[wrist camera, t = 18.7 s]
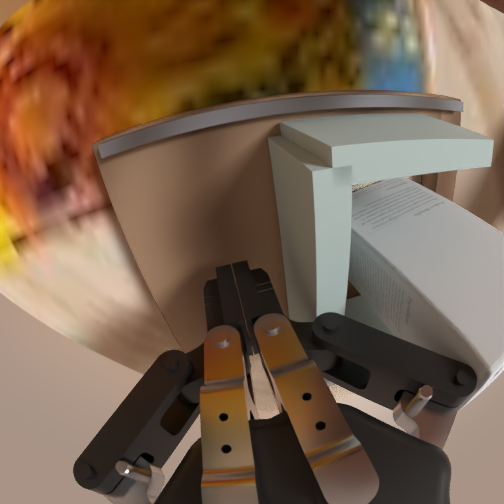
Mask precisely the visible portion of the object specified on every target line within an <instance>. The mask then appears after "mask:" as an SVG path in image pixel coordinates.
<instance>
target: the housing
mask: <svg viewBox="0 0 504 504" xmlns="http://www.w3.org/2000/svg"><path fill="white" fill-rule="evenodd" d="M279 123H280V130H281V135H279V136H273V137H268V144H269V151H270V158H271V165H272V172H273V179H274V187H275V195H276V202H277V210H278V218H279V227H280V235H281V244H282V253H283V262H284V271H285V280H286V290H287V300H288V310H289V319H290V320H293V321H296V322H313V321H314V320H315V318H316V317H317V316H319V315H321V314H323V313H327V312H335V313H339V314H341V315H344V316H346V317H348V318H351V319H353V320H356V321H358V322H360V323H363V324H365V325H368V326H370V327H373V328H375V329H378V330H380V331H383V332H385V333H388V334H390V335H393V336H394V334H393V333H392V332H391V331H390V329H389V328H388V327H387V326H386V325H385V323H384V322H383V321H382V320H381V318H380V317H379V316H378V315H377V313H376V312H375V311H374V310H373V309H372V307H371V306H370V305H369V304H368V302H367V301H366V300H365V299H364V298H363V296H362V295H360V296H356V297H353V298H350V299H347V300H346V295H347V285H348V273H349V260H350V243H351V220H352V185H356V184H362V183H368V182H374V181H380V180H387V179H393V178H400V177H407V176H414V175H421V174H428V173H436V172H444V171H452V170H461V169H470V168H480V167H491V162H492V153H493V144H494V140H493V139H490V138H488V137H486V136H483V135H481V134H478V133H476V132H473V131H471V130H468V129H465V128H463V127H460V126H457V125H454V124H451V123H448V122H445V121H442V120H439V119H436V118H433V117H430V116H426V115H423V114H357V115H340V116H327V117H316V118H307V119H298V120H290V121H283V122H279ZM324 380H325V382H326V384H327V385H328V386H331V385H334V384H335V383H333V382H331V381H329V380H327V379H325V378H324Z"/></svg>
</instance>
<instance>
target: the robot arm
mask: <svg viewBox="0 0 504 504" xmlns="http://www.w3.org/2000/svg"><path fill="white" fill-rule="evenodd" d="M232 267H233V271H234V275H235V279H236V283H237V287H236V283H235V279H234V275H233V271H232ZM232 267H231V264H228V265H224V266H220V267H216V275H217V279H212V280H208V281H207V282H206V284H205V286H204V289H203V292H204V303H205V313H206V322H207V334H206V336H205V338H204V342H203V343H202V344H201V345H200V346H199V347H197V348H196V349H194V350H192V351H190V352H188V353H186V354H185V353H184V352H182V351H179V350H169V351H166V352H164V353H163V354H161V355H160V356H159V357H158V358H157V359H156V361H155V362H154V363H153V364H152V366H151V367H150V368H149V369H148V371H147V372H146V373H145V374H144V376H143V377H142V378H141V379H140V381H139V382H138V383H137V384H136V386H135V387H134V388H133V389H132V391H131V392H130V393H129V394H128V396H127V397H126V398H125V400H124V401H123V402H122V403H121V405H120V406H119V407H118V408H117V410H116V411H115V412H114V413H113V415H112V416H111V417H110V418H109V420H108V421H107V422H106V423H105V425H104V426H103V427H102V428H101V430H100V431H99V432H98V434H97V435H96V436H95V437H94V439H93V440H92V441H91V443H90V444H89V445H88V446H87V448H86V449H85V450H84V451H83V453H82V454H81V455H80V456H79V458H78V459H77V460H76V462H75V464H74V468H73V473H74V477H75V479H76V481H77V483H78V484H79V485H80V486H82V487H83V488H86V489H89V490H92V491H95V492H97V493H99V494H102V495H104V496H105V497H106V498H107V499H108V500H109V501H111V502H112V503H113V504H450V497H449V490H450V489H449V488H450V480H451V464H450V461H449V459H448V457H447V455H446V454H445V452H444V451H443V450H442V449H443V447H444V445H445V442H446V440H447V437H448V435H449V433H450V430H451V427H452V425H453V422H454V419H455V416H456V414H457V411H458V408H459V406H460V405H461V404H462V403H463V402H464V401H465V400H466V399H467V398H468V396H469V395H470V394H471V393H472V392H473V391H474V390H475V388H476V385H477V376H476V373H475V371H474V370H473V369H472V368H471V367H470V366H469V365H467V364H465V363H462V362H460V361H457V360H454V359H452V358H449V357H446V356H444V355H441V354H438V353H436V352H433V351H431V350H428V349H426V348H423V347H420V346H418V345H415V344H413V343H410V342H408V341H405V340H403V339H400V338H398V337H395V336H393V335H390V334H388V333H385V332H383V331H380V330H378V329H375V328H373V327H370V326H368V325H365V324H363V323H360V322H358V321H356V320H353V319H351V318H348V317H346V316H344V315H341V314H339V313H335V312H327V313H323V314H321V315H319V316H317V317H316V318H315V320H314V321H313V322H296V321H293V320H290V319H289V318H287V317H286V316H285V315H284V313H283V311H282V308H281V306H280V303H279V301H278V298H277V296H276V293H275V291H274V289H273V286H272V283H271V280H270V278H269V275H268V273H267V272H265V271H264V270H263V269H262V268H257V269H253V270H250V268H249V265H248V262H247V260H244V261H240V262H236V263H232ZM237 288H238V291H237ZM238 292H239V295H238ZM239 296H240V299H239ZM240 300H241V303H240ZM241 304H242V307H241ZM242 308H243V311H242ZM243 312H244V315H243ZM244 316H245V319H244ZM245 320H246V323H245ZM246 324H247V327H246ZM247 328H248V331H247ZM248 332H249V335H250V339H251V343H252V346H253V350H254V353H255V354H258V353H259V354H260V358H261V362H262V365H263V369H264V372H265V375H266V377H267V380H268V382H269V385H270V388H271V390H272V393H273V395H274V398H275V401H276V403H277V406H278V409H279V412H280V414H278V415H276V416H274V417H272V418H270V419H259V415H258V412H257V407H256V400H255V393H254V387H253V380H252V373H251V364H250V360H249V356H250V355H253V352H252V348H251V344H250V340H249V336H248ZM324 378H325V379H327V380H329V381H331V382H333V383H335V384H337V385H339V386H341V387H343V388H345V389H347V390H349V391H351V392H353V393H355V394H357V395H360V396H362V397H364V398H366V399H368V400H371V401H373V402H375V403H377V404H379V405H382V406H384V407H386V408H388V409H391V410H393V418H394V421H395V422H396V424H397V425H398V426H400V427H401V428H403V429H404V430H405V431H406V432H407V433H406V432H404V431H401V430H399V429H397V428H395V427H393V426H391V425H389V424H386V423H384V422H382V421H380V420H378V419H376V418H374V417H372V416H370V415H368V414H366V413H364V412H363V411H361V410H359V409H357V408H354V407H352V406H349V405H346V404H341V403H336V401H335V399H334V397H333V395H332V393H331V391H330V389H329V387H328V385H327V384H326V382H325V380H324ZM199 414H200V419H201V438H199V439H198V440H197V441H196V442H195V443H194V444H193V445H192V446H191V447H190V449H189V450H188V452H187V453H186V455H185V456H184V458H183V460H182V461H181V463H180V464H179V466H178V467H177V469H176V470H175V472H174V474H173V475H172V477H171V478H170V480H169V481H168V483H167V484H166V486H165V487H164V489H163V490H162V492H161V489H162V487H163V485H164V480H165V477H164V474H163V472H162V470H161V468H162V467H163V465H164V464H165V462H166V461H167V460H168V458H169V457H170V456H171V454H172V453H173V451H174V450H175V449H176V447H177V446H178V444H179V443H180V441H181V440H182V439H183V437H184V436H185V434H186V433H187V431H188V430H189V428H190V427H191V425H192V424H193V423H194V421H195V420H196V418H197V417H198V415H199Z"/></svg>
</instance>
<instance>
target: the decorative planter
mask: <svg viewBox="0 0 504 504" xmlns="http://www.w3.org/2000/svg"><path fill="white" fill-rule="evenodd" d="M480 1H482V2H484V3H486V4H487V5H489V6H491V7H493V8H495V9H497V10H498V11H500V12H502V13H504V0H480Z"/></svg>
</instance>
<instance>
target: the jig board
mask: <svg viewBox="0 0 504 504" xmlns="http://www.w3.org/2000/svg"><path fill="white" fill-rule="evenodd" d="M461 112H463V102H461V100H460V99H456V98H452V97H448V96H443V95H436V94H427V93H417V92H405V91H388V90H330V91H312V92H299V93H289V94H280V95H271V96H264V97H257V98H250V99H244V100H238V101H232V102H227V103H222V104H217V105H212V106H208V107H203V108H199V109H194V110H190V111H186V112H182V113H178V114H175V115H171V116H167V117H164V118H160V119H157V120H153V121H150V122H147V123H144V124H141V125H137V126H134V127H131V128H129V129H126V130H123V131H120V132H117V133H114V134H112V135H109V136H106V137H104V138H101V139H100V140H98V141H96V142H95V143H93V144H92V148H93V151H94V154H95V157H96V160H97V163H98V166H99V169H100V172H101V175H102V178H103V181H104V184H105V187H106V189H107V192H108V195H109V198H110V200H111V203H112V205H113V208H114V211H115V213H116V216H117V218H118V221H119V223H120V226H121V228H122V230H123V233H124V235H125V237H126V240H127V242H128V244H129V247H130V249H131V251H132V253H133V256H134V258H135V260H136V262H137V264H138V267H139V269H140V271H141V273H142V275H143V277H144V279H145V281H146V283H147V285H148V287H149V289H150V291H151V293H152V295H153V297H154V299H155V301H156V303H157V305H158V307H159V309H160V311H161V313H162V315H163V317H164V318H165V320H166V322H167V324H168V326H169V328H170V329H171V331H172V333H173V335H174V337H175V338H176V340H177V342H178V344H179V345H180V347H181V349H182V350H183V352H184V353H185V354H186V353H188V352H190V351H192V350H194V349H196V348H197V347H199V346H200V345H201V344H202V343H203V342H204V338H205V336H206V334H207V322H206V313H205V303H204V292H203V289H204V286H205V284H206V282H207V281H208V280H212V279H217V275H216V267H220V266H224V265H228V264H231V267H232V263H236V262H240V261H244V260H247V262H248V265H249V268H250V270H253V269H257V268H262V269H263V270H264V271H265V272H267V273H268V275H269V278H270V280H271V283H272V286H273V289H274V291H275V293H276V296H277V298H278V301H279V303H280V306H281V308H282V311H283V313H284V315H285V316H286V317H287V318H289V310H288V300H287V290H286V280H285V271H284V262H283V253H282V244H281V235H280V227H279V218H278V210H277V202H276V195H275V187H274V179H273V172H272V165H271V158H270V151H269V144H268V137H273V136H279V135H281V130H280V123H279V122H283V121H290V120H298V119H307V118H316V117H327V116H340V115H357V114H423V115H426V116H430V117H433V118H436V119H439V120H442V121H445V122H448V123H451V124H454V125H457V126H460V122H461ZM456 173H457V170H452V171H444V172H436V173H428V174H422V184H421V185H422V186H424V187H426V188H427V189H429V190H431V191H433V192H435V193H437V194H439V195H441V196H443V197H445V198H446V199H448V200H450V201H452V200H453V194H454V188H455V181H456ZM232 271H233V267H232ZM233 275H234V271H233ZM234 279H235V275H234ZM235 283H236V279H235ZM236 287H237V283H236ZM237 291H238V288H237ZM238 295H239V292H238ZM360 295H361V294H360V293H359V292H358V291H357V290H356V288H355V287H354V286H353V285H352V284H351V282H350V281H349V280H348V285H347V295H346V300H347V299H350V298H353V297H356V296H360ZM239 299H240V296H239ZM240 303H241V300H240ZM241 307H242V304H241ZM242 311H243V308H242ZM243 315H244V312H243ZM244 319H245V316H244ZM245 323H246V320H245ZM246 327H247V324H246ZM247 331H248V328H247ZM248 336H249V340H250V344H251V348H252V351H254V350H253V346H252V343H251V339H250V335H249V332H248Z"/></svg>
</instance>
